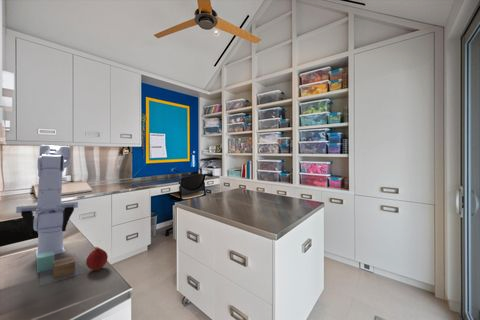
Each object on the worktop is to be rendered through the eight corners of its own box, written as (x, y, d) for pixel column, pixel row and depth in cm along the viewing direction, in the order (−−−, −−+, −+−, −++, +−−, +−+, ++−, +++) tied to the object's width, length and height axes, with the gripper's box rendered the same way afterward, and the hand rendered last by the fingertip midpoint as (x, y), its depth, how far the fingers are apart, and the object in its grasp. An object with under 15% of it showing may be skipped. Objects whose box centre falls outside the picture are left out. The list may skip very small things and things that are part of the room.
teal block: (36, 269, 68) (37, 254, 68) (53, 265, 71) (53, 250, 71) (37, 274, 65) (37, 258, 65) (53, 269, 68) (54, 254, 68)
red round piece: (103, 264, 72) (104, 241, 72) (109, 270, 69) (110, 246, 69) (83, 270, 68) (84, 246, 68) (88, 277, 64) (89, 252, 64)
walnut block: (52, 271, 66) (53, 260, 66) (72, 266, 70) (72, 256, 70) (53, 278, 62) (54, 266, 63) (74, 272, 66) (75, 261, 66)
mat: (39, 273, 66) (39, 272, 66) (78, 263, 73) (78, 261, 73) (40, 287, 59) (40, 286, 59) (83, 274, 66) (83, 273, 66)
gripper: (17, 191, 59) (13, 239, 57) (79, 188, 70) (78, 229, 68) (18, 192, 64) (14, 237, 62) (76, 190, 75) (75, 228, 73)
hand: (47, 233), depth 65 cm, fingers open, 7 cm apart
